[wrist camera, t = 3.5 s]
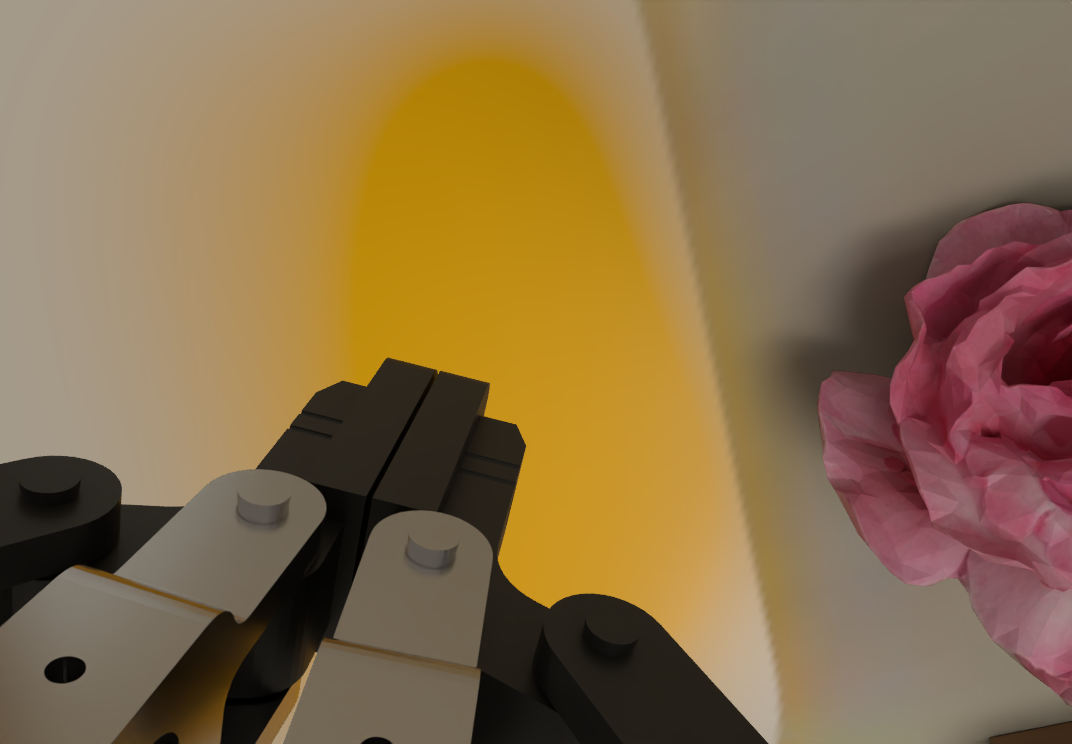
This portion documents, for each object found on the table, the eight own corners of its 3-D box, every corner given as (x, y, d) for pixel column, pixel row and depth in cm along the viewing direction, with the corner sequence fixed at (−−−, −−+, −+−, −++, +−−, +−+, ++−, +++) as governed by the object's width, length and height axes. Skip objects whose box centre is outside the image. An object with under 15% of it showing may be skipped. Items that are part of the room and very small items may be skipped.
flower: (869, 179, 27) (1191, 35, 18) (1124, 352, 29) (1539, 306, 20) (699, 537, 25) (959, 596, 16) (985, 698, 27) (1376, 839, 17)
